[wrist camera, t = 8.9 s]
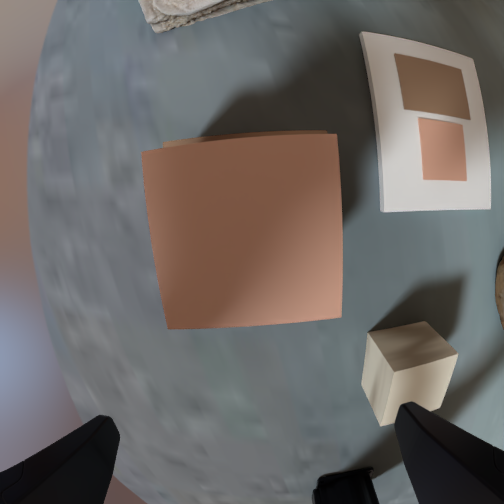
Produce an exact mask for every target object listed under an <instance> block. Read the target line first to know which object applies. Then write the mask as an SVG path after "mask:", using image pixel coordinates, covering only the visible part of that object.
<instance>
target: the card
mask: <svg viewBox="0 0 504 504" xmlns="http://www.w3.org/2000/svg"><path fill="white" fill-rule="evenodd" d="M359 37H360V41H361V46H362V50H363V55H364V60H365V65H366V70H367V76H368V82H369V88H370V94H371V101H372V108H373V115H374V124H375V133H376V143H377V154H378V168H379V186H380V211H382V212H401V211H427V210H466V209H491V172H490V155H489V143H488V134H487V126H486V118H485V112H484V106H483V100H482V95H481V90H480V85H479V81H478V77H477V72H476V68H475V65H474V61H473V59H472V58H469V57H467V56H464V55H461V54H458V53H455V52H452V51H449V50H446V49H442V48H439V47H436V46H432V45H428V44H424V43H421V42H417V41H412V40H408V39H403V38H399V37H394V36H388V35H383V34H377V33H370V32H363V31H362V32H361V33H360V34H359Z"/></svg>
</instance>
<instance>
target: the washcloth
mask: <svg viewBox="0 0 504 504" xmlns="http://www.w3.org/2000/svg"><path fill="white" fill-rule="evenodd" d="M267 1H272V0H139V3H140V5H141V7H142V10H143V13H144V15H145V19H146V21H147V23H148V24H151V26H152V28H153V30H154V31H155V32H156V33H163V32H164V31H169V30H171V29H172V28H174V27H177V28H178V27H180V26H188V25H192V24H194V23H195V22H197V21H203V20H205V19H208V18H213V17H217V16H221V15H223V14H226V13H229V12H232V11H236V10H239V9H242V8H245V7H249V6H253V5H256V4H260V3H263V2H267Z"/></svg>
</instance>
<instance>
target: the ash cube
mask: <svg viewBox="0 0 504 504" xmlns="http://www.w3.org/2000/svg"><path fill="white" fill-rule="evenodd" d="M457 357H458V353H457V352H456V351H455V350H454V349H453V348H452V347H451V346H450V345H449V344H448V343H447V342H446V341H445V340H444V339H443V338H442V337H441V336H440V335H439V334H438V333H437V332H436V331H435V330H434V329H433V328H432V327H431V326H430V325H429V324H428V323H427V322H426V321H422V322H418V323H413V324H408V325H404V326H399V327H394V328H388V329H383V330H378V331H372V332H368V334H367V344H366V353H365V361H364V369H363V376H362V382H361V385H362V387H363V389H364V391H365V394H366V396H367V398H368V400H369V402H370V404H371V407H372V409H373V411H374V413H375V415H376V418H377V420H378V422H379V424H380V426H384V425H388V424H392V423H395V419H396V416H397V413H398V409H399V406H400V405H401V404H403V403H407V402H410V401H413V402H415V403H417V404H419V405H420V406H422V407H424V408H425V409H427V410H429V411H433V410H435V409H438V408H440V406H441V404H442V401H443V399H444V396H445V393H446V391H447V388H448V385H449V382H450V379H451V376H452V373H453V370H454V367H455V364H456V360H457Z"/></svg>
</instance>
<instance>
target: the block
mask: <svg viewBox="0 0 504 504" xmlns="http://www.w3.org/2000/svg"><path fill="white" fill-rule="evenodd" d="M495 299H496V304H497V308H498V313H499V314H500V320H501V324H502V327H503V329H504V256H503V259H502V260H501V262H500V263H499V266H498V269H497V277H496V283H495Z"/></svg>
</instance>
